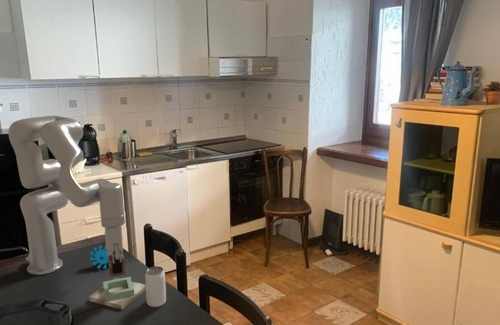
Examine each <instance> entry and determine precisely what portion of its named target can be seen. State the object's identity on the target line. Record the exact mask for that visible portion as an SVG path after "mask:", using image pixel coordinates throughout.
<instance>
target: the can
mask: <svg viewBox="0 0 500 325" xmlns="http://www.w3.org/2000/svg"><path fill="white" fill-rule="evenodd" d="M144 277H145V278H144V280H145V285H146V290H145V295H146V298H145V299H146V304H147V306H149V307H152V308H159V307H162V306H164V305H165V303H166V301H167V290H166V289H167V288H166V273H165V271H164V268H163V267H162V266H157V265H156V266H151V267H148V268H147V269H146V271H145V276H144Z"/></svg>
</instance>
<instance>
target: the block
mask: <svg viewBox="0 0 500 325" xmlns="http://www.w3.org/2000/svg"><path fill="white" fill-rule="evenodd" d="M114 258H115V256H114ZM121 261H122V268H123V272H121V273H116V274H113V269H112V263H113V259H112V255H111V256H108V263H107V264H108V265H109V267H108V272H109V276H110V278H112V277H114V278H115V277H119V276H123V275H126V273H127V272H126V262H125V255H124V253H122V254H121Z"/></svg>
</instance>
